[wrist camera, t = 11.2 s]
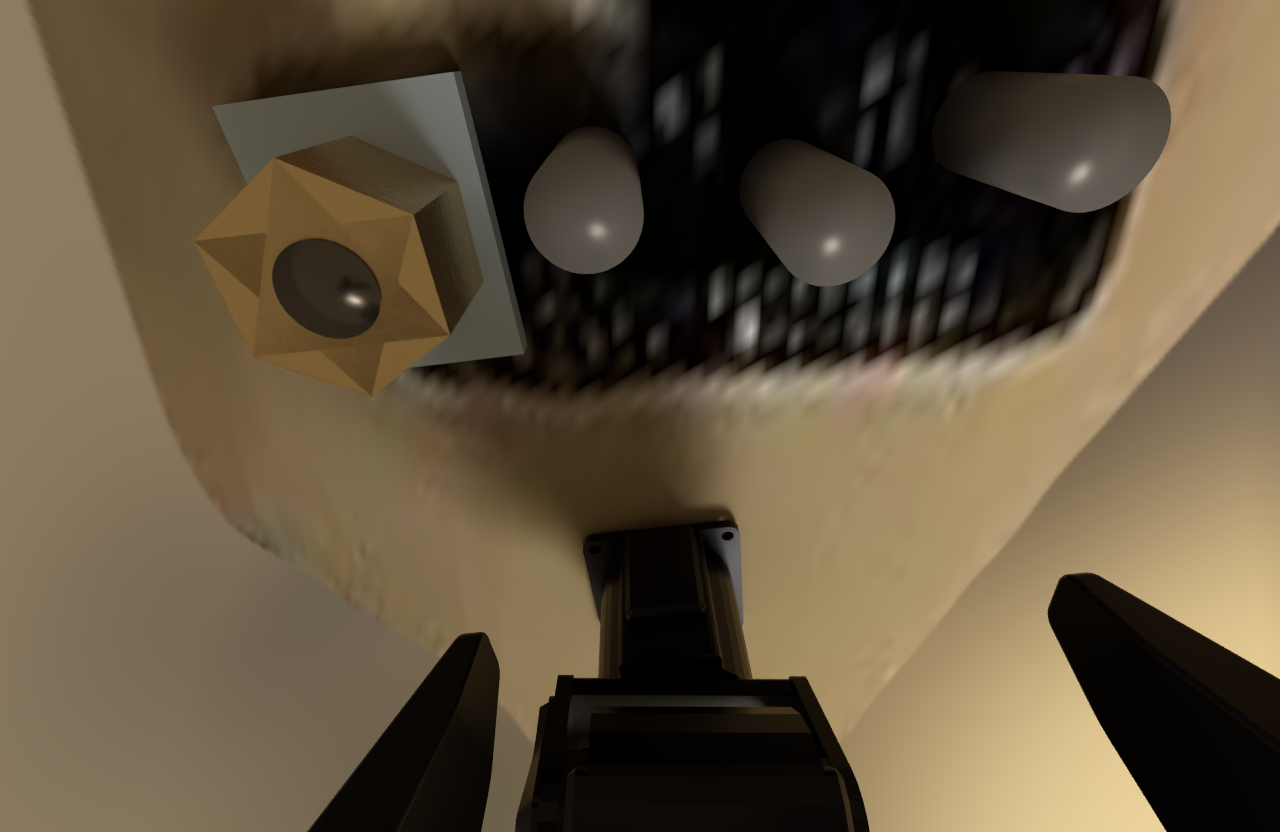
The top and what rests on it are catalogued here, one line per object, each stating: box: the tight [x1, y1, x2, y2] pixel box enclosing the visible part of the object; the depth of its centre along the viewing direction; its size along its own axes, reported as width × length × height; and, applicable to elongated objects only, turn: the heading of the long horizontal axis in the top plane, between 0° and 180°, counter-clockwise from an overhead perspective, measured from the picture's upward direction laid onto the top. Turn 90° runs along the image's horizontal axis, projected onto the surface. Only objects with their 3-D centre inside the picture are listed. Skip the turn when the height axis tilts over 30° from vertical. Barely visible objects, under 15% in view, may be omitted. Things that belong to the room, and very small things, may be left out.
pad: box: [212, 71, 527, 368], centre depth 17 cm, size 8×6×1 cm
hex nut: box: [194, 135, 484, 396], centre depth 15 cm, size 6×5×4 cm
